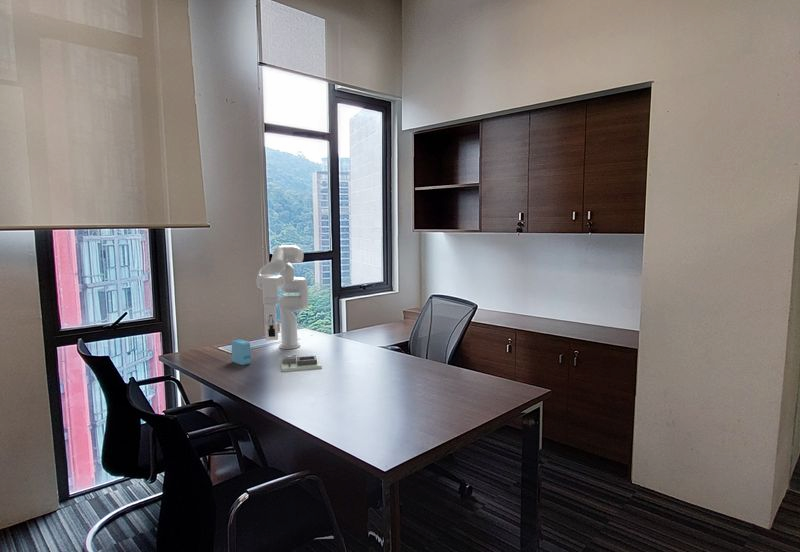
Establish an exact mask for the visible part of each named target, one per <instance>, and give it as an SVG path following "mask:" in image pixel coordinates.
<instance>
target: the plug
mask: <svg viewBox="0 0 800 552" xmlns="http://www.w3.org/2000/svg"><path fill="white" fill-rule="evenodd" d="M272 325H273V324H272ZM264 329H265V330H264V331H265V341H276V340H277V341H278V340H279V333H280V332H281V324H280V322H275V323H274V329H275V337H269V333H268V329H269V324H268V323H267V324H266V323H265V327H264Z"/></svg>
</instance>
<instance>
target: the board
mask: <svg viewBox="0 0 800 552" xmlns="http://www.w3.org/2000/svg"><path fill="white" fill-rule="evenodd" d="M281 357H282V358H281V359H282V360H281V372H282V373H283V372H294V371H295V370H297V371H307V370H308V369H309V370H319V369H322V367H323V366H322V363H321V359H320V357H317V356H316V355H308V356H307V355H306V356H298V357H297V355H296V354H293V355H283V356H281Z"/></svg>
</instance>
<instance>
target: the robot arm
mask: <svg viewBox="0 0 800 552" xmlns="http://www.w3.org/2000/svg"><path fill="white" fill-rule="evenodd" d="M303 261H304V251H303V249H302V248H300V247H299V246H297V245H279V246H276V247H275V248H274V250H273V252H272V257H271V259H270V262H268V263H266V264H265V265H263V266H262V267H261V268H260V269H259V270H258V273H257V275H256V276H257V277H256V283H255V284H256V286H257V288H259V289H260V290H262V304H263V305H264V312H265V315H264V316H265V319H264V320H265V324H269V329H268V333H269V337H275V329H274V323H276V321H277V320H276V318H277V305H278V309H279V314H280V332H281V333H280V334H281V335H280V336H281V337H280V339H281V344H279V345H278V348H279V349H282V350H292V349H293V350H294V349H298V348H300V347H301V343H299V342H298V340H299V338H298V319H297V316H296V314H295V313H294V312H302V311H303V312H304V311H306V310H308V307H309V294H308V293H309V291H308V290H309V289H308V287H309V285H308V280H307V279H306V278H305V277H304V276H303V277H302V276H301V277H300V276H297V277H296V276H295V274H296V272H295V271H296V270H295V267H294V266H293V265H292V264H298V263H299V264H301V263H302V262H303ZM278 273H279V274H278ZM279 289H280V290H281V292H282V293H284V294H287V295H281V296H280V297H279V292H278V290H279ZM288 294H289V295H288ZM291 294H292V295H291ZM293 294H294V295H293ZM295 294H296V295H295ZM297 294H298V295H297ZM272 324H273V325H272Z"/></svg>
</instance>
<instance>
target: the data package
mask: <svg viewBox="0 0 800 552" xmlns="http://www.w3.org/2000/svg"><path fill="white" fill-rule="evenodd" d="M230 345H231V359H232V362H233V363H235V364H237V365H241V366H245V365H249V364H251V362H252V358H251V357H252V356H251V353H252V352H251V343H250V342H249V341H248V340H244V339H239V338H238V339H235V340H232V341H231V344H230Z"/></svg>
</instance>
